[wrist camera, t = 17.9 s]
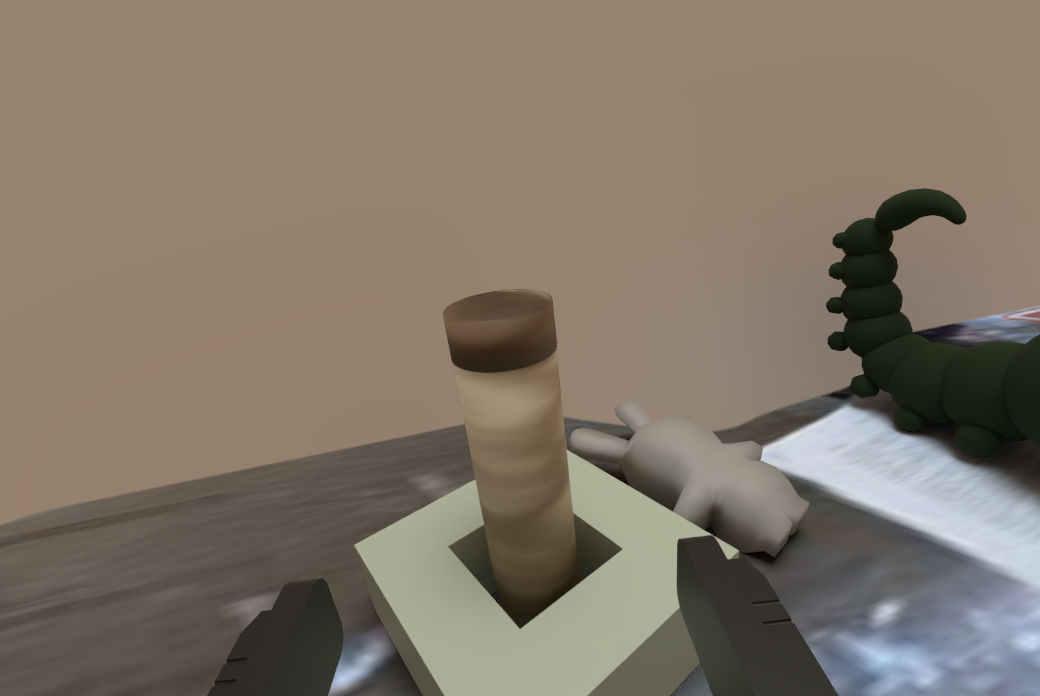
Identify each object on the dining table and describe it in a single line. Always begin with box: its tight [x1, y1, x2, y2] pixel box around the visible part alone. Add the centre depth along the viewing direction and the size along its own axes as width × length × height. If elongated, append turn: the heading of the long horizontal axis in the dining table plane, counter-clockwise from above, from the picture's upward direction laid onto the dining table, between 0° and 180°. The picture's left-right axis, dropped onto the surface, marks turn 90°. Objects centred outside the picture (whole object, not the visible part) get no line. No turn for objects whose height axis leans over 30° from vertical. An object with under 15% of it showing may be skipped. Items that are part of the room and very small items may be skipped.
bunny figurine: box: [567, 401, 809, 557], centre depth 33 cm, size 10×5×15 cm
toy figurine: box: [826, 189, 1040, 456], centre depth 32 cm, size 9×19×25 cm
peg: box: [443, 289, 580, 629], centre depth 23 cm, size 4×4×18 cm
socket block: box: [354, 450, 739, 696], centre depth 25 cm, size 14×14×5 cm
